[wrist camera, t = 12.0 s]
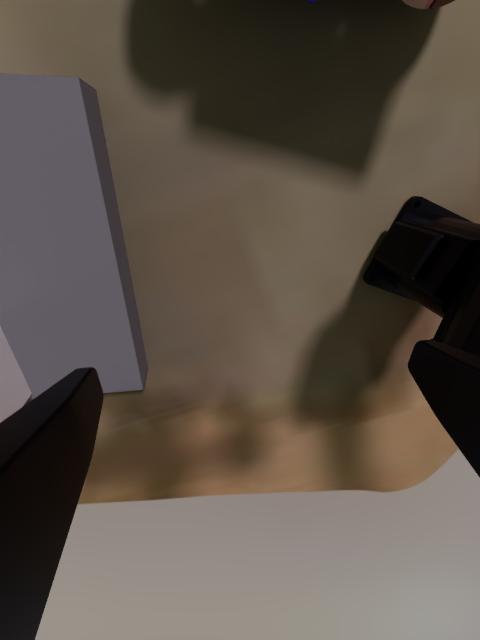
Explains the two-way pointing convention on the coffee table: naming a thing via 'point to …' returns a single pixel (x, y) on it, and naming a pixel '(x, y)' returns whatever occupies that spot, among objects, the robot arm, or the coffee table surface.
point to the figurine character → (421, 3)
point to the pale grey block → (10, 381)
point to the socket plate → (63, 239)
